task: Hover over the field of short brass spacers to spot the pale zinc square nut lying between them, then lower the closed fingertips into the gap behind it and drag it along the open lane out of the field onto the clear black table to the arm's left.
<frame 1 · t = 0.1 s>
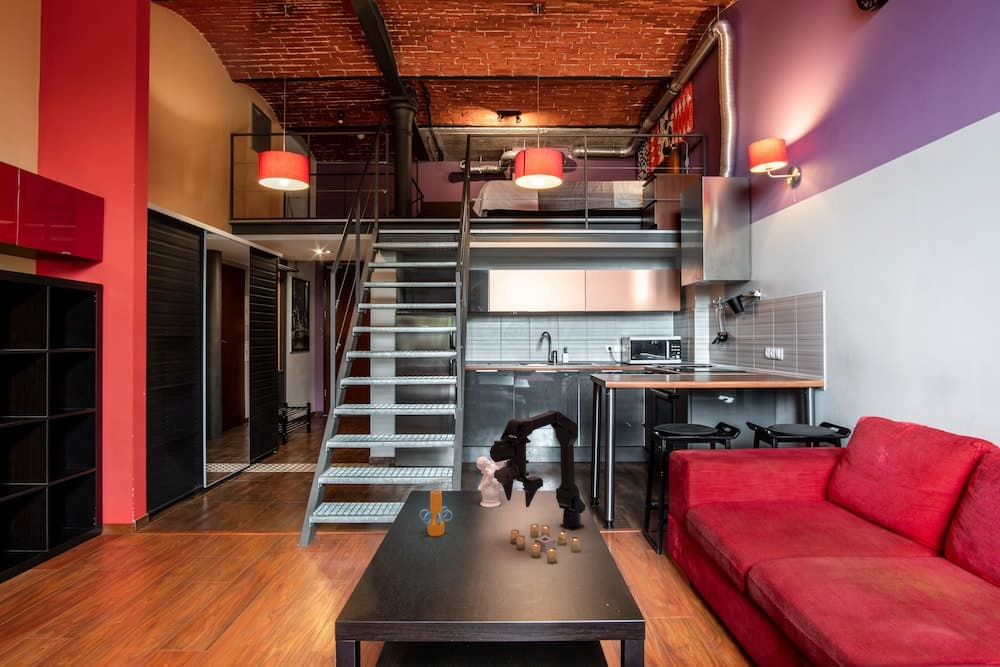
hand: (518, 503, 171), 15 cm above the table, fingers open, 9 cm apart
orange column with rings: (436, 534, 183), on the table
spacers: (545, 548, 170), on the table
zinc nut: (545, 548, 170), on the table
cherub figurine: (492, 503, 216), on the table
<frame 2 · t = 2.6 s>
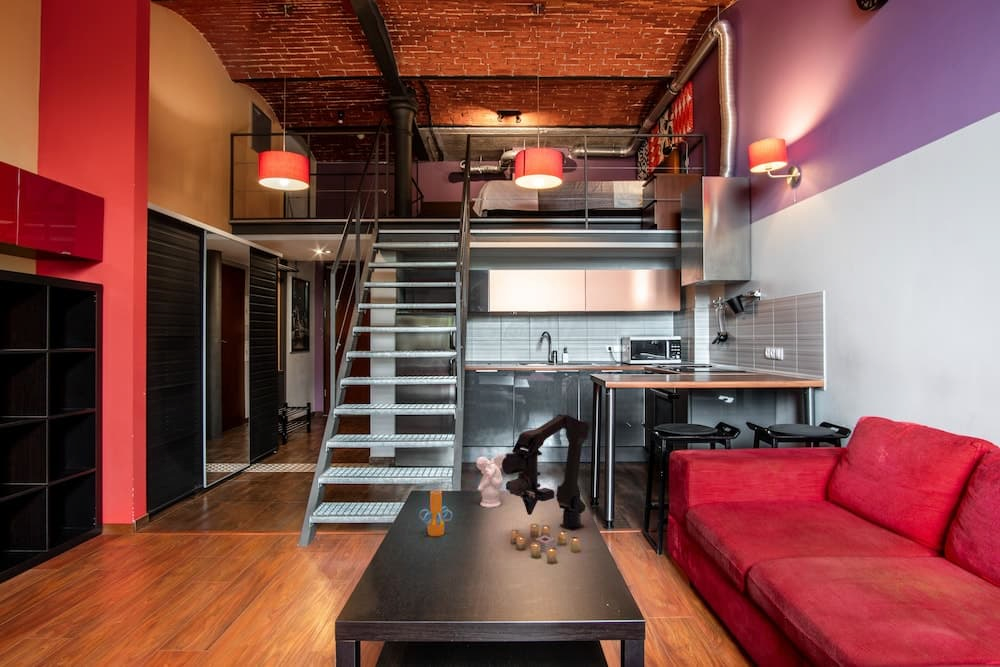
hand: (529, 514, 176), 9 cm above the table, fingers closed
nothing on the table moved.
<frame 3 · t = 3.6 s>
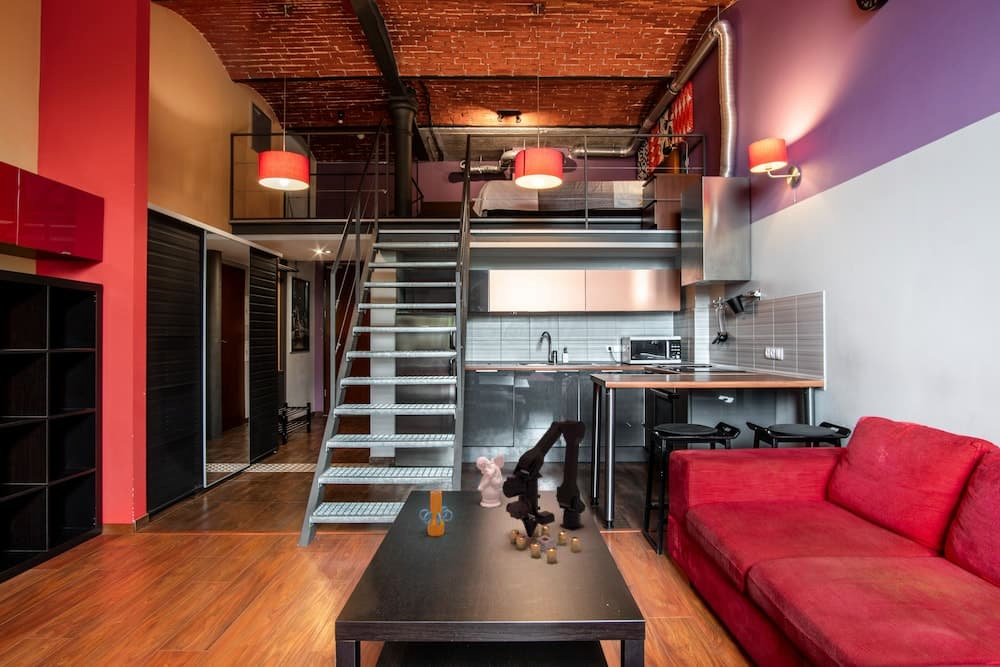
hand: (529, 537, 175), 2 cm above the table, fingers closed
nothing on the table moved.
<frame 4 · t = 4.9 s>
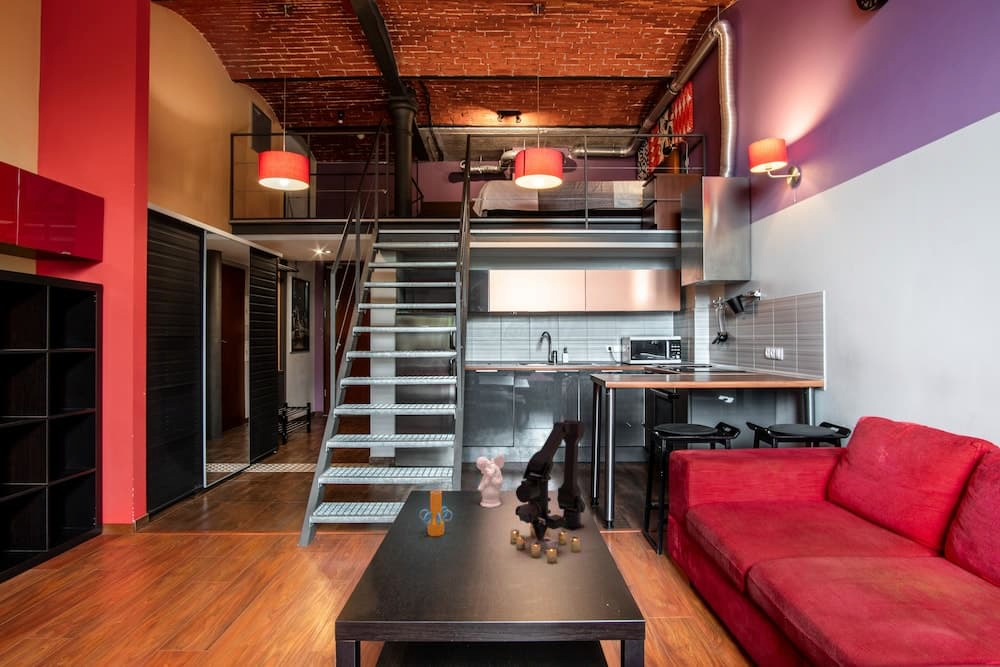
hand: (539, 541, 172), 2 cm above the table, fingers closed
zinc nut: (547, 549, 169), on the table, touching gripper
everything else where it was.
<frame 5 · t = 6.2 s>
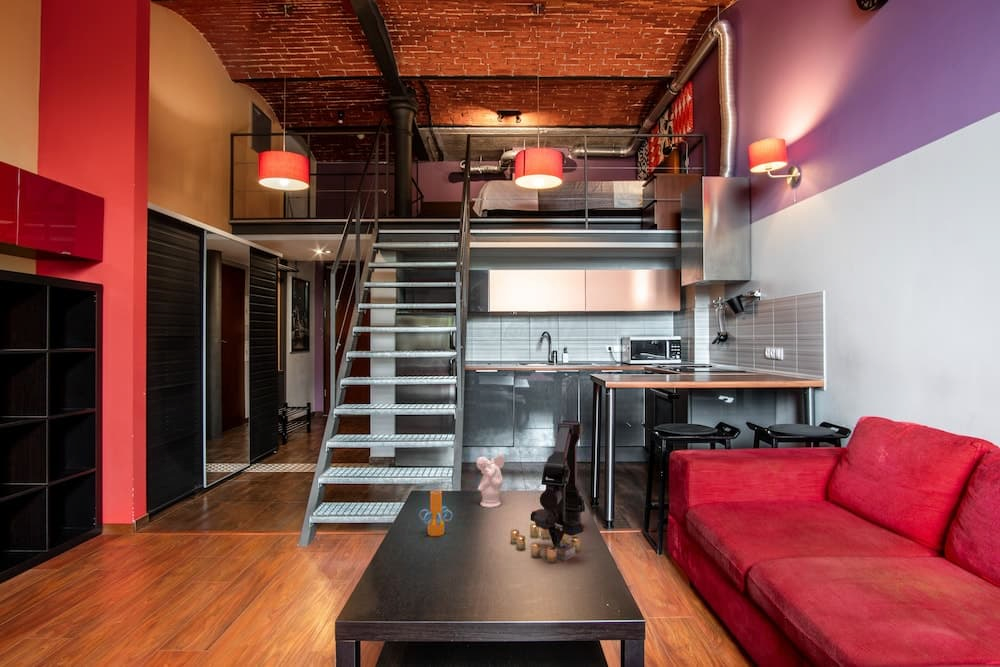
hand: (555, 547, 166), 2 cm above the table, fingers closed
zinc nut: (564, 556, 164), on the table, touching gripper
everything else where it was.
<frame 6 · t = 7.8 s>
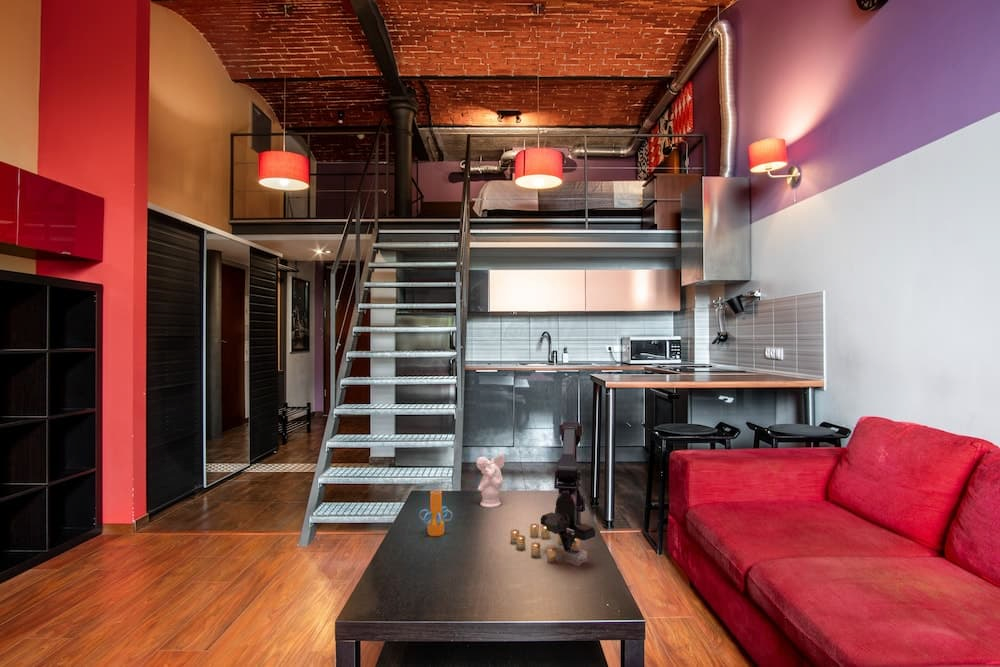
hand: (567, 552, 163), 2 cm above the table, fingers closed
zinc nut: (575, 560, 160), on the table, touching gripper
everything else where it was.
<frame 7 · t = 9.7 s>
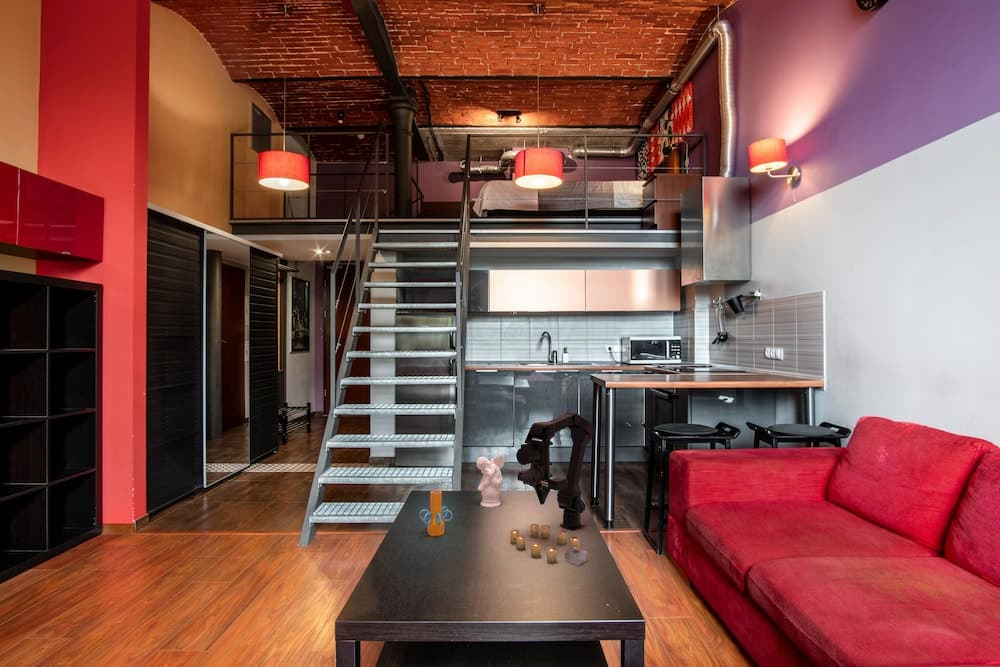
hand: (542, 504, 177), 12 cm above the table, fingers closed
zinc nut: (576, 561, 160), on the table
everything else where it was.
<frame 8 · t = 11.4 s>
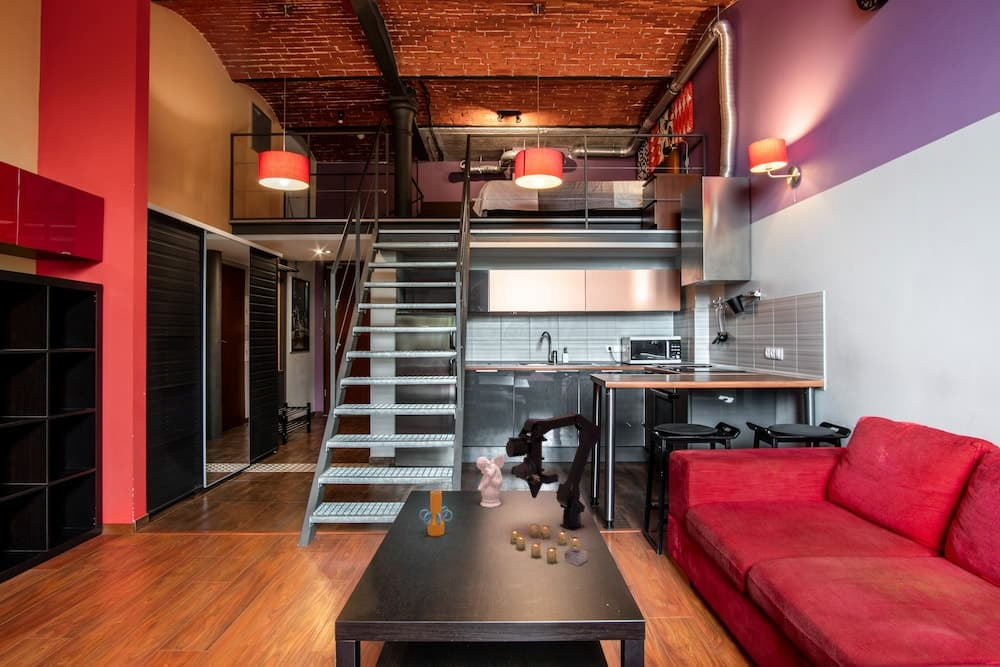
hand: (534, 497, 182), 13 cm above the table, fingers closed
nothing on the table moved.
at the end: zinc nut inside the target area (2.1 cm from its centre), on the table; zinc nut touching table; zinc nut moved 13.2 cm from its start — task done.
